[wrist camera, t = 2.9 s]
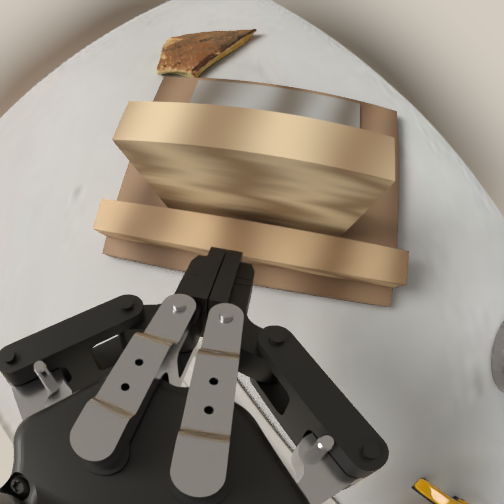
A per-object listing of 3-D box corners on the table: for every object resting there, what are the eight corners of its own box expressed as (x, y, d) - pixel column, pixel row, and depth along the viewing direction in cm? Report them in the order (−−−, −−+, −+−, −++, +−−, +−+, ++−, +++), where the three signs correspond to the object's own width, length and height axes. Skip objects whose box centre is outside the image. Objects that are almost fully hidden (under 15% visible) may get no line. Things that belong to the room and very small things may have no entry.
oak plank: (343, 207, 24) (394, 137, 14) (340, 237, 24) (395, 181, 13) (175, 180, 25) (128, 101, 14) (168, 207, 25) (112, 139, 14)
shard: (256, 37, 30) (256, 27, 29) (258, 79, 29) (258, 68, 27) (168, 45, 31) (164, 35, 29) (158, 87, 29) (153, 77, 27)
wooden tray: (393, 116, 27) (405, 97, 24) (385, 306, 24) (403, 304, 20) (166, 82, 29) (158, 61, 25) (107, 255, 25) (88, 247, 22)
